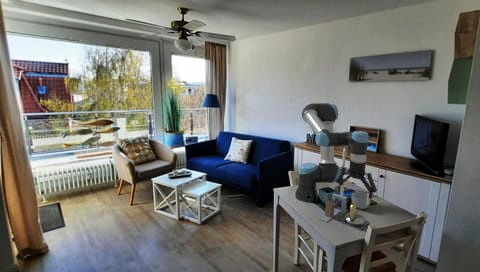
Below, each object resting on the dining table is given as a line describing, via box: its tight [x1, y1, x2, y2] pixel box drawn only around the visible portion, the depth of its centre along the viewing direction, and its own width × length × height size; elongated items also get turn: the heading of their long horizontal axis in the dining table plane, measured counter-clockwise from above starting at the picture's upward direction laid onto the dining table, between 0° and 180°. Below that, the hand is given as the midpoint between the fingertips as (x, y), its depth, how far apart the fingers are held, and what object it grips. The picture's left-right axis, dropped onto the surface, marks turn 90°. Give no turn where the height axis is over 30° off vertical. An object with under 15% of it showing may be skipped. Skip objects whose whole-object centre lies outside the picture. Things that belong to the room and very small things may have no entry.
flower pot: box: [318, 186, 339, 205], centre depth 163 cm, size 9×9×9 cm
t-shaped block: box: [319, 193, 348, 223], centre depth 148 cm, size 22×9×9 cm, turn 135°
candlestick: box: [334, 146, 350, 193], centre depth 181 cm, size 11×11×35 cm
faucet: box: [344, 203, 366, 225], centre depth 138 cm, size 10×10×11 cm
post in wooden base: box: [324, 199, 342, 217], centre depth 150 cm, size 18×4×9 cm, turn 135°
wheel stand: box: [339, 217, 369, 231], centre depth 140 cm, size 11×11×1 cm
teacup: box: [350, 190, 371, 210], centre depth 159 cm, size 14×11×8 cm
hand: (354, 199), depth 134 cm, fingers open, 13 cm apart
